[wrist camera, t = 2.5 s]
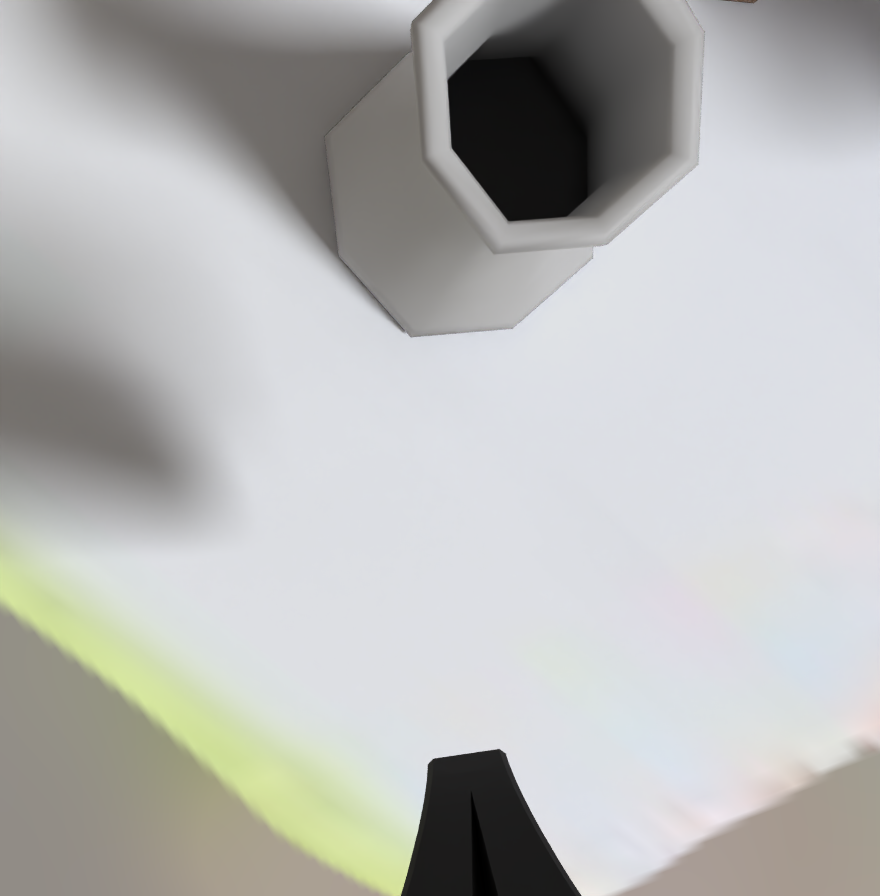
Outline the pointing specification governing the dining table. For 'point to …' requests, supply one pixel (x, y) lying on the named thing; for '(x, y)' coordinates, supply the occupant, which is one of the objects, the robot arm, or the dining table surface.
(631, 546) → the dining table surface
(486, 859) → the robot arm
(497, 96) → the flask
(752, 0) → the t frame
